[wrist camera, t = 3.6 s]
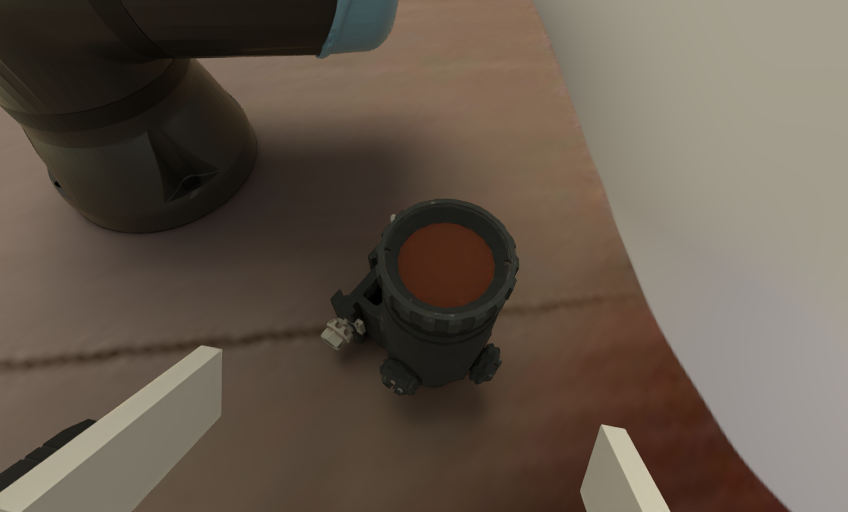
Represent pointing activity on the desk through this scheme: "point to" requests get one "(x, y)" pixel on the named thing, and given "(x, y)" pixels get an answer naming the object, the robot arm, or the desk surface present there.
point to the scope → (432, 295)
